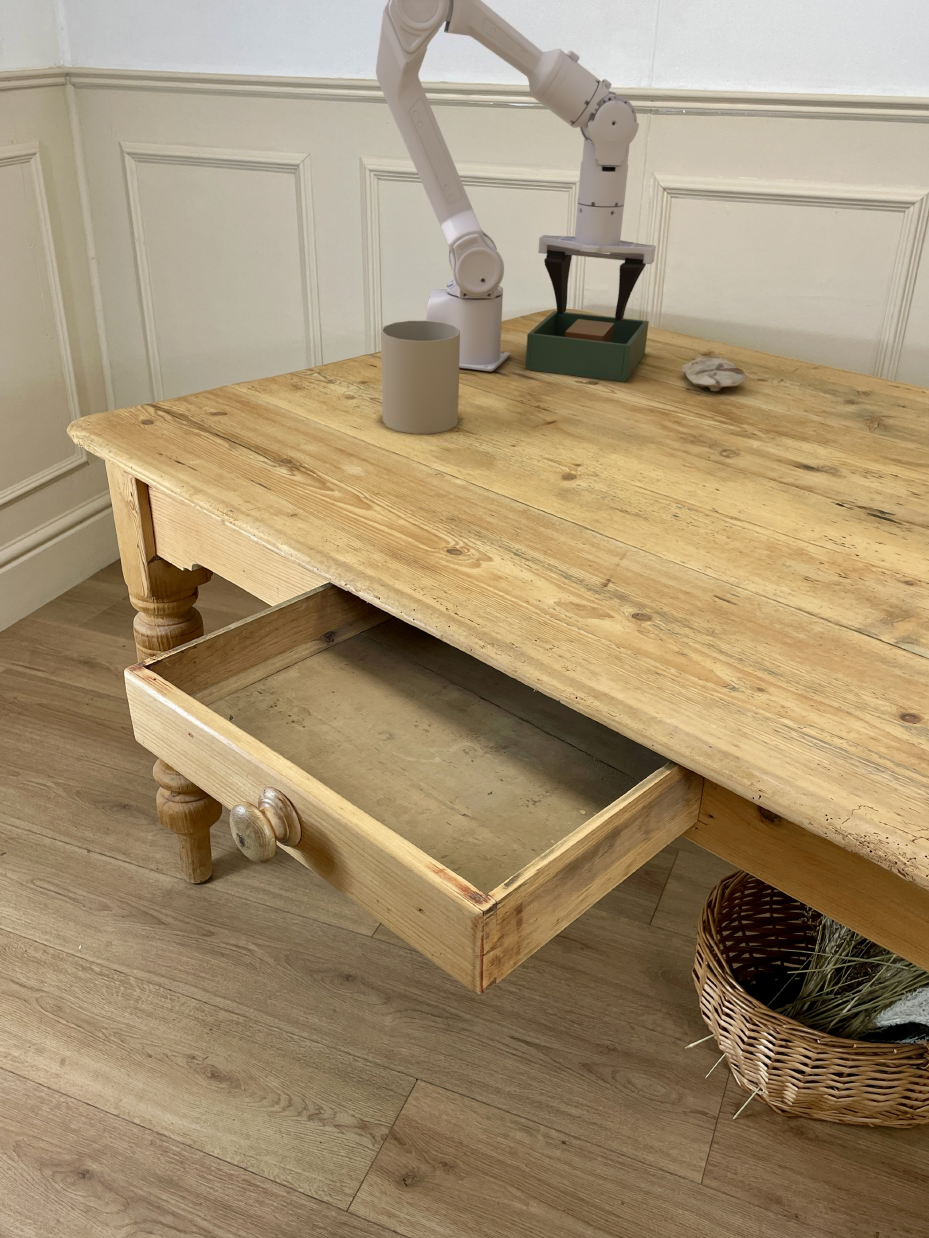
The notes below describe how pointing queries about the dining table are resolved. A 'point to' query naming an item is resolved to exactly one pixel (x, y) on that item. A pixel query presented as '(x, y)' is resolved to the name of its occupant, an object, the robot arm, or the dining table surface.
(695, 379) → the stone
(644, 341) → the bin
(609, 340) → the block
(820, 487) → the dining table surface
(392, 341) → the cup
